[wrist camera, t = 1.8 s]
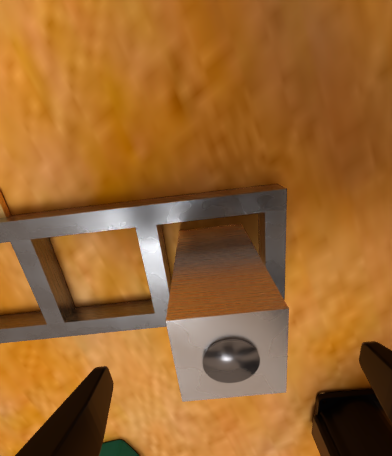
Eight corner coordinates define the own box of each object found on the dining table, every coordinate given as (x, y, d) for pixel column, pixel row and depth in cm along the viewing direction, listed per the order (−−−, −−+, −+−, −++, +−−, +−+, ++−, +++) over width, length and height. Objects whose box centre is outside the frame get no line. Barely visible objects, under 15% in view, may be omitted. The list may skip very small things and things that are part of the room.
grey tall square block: (241, 223, 15) (290, 311, 7) (243, 276, 16) (287, 396, 9) (179, 230, 15) (165, 324, 7) (187, 282, 16) (182, 405, 9)
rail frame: (277, 156, 13) (287, 158, 12) (276, 300, 17) (284, 314, 16) (-108, 203, 14) (-141, 210, 13) (-30, 331, 18) (-49, 348, 16)
